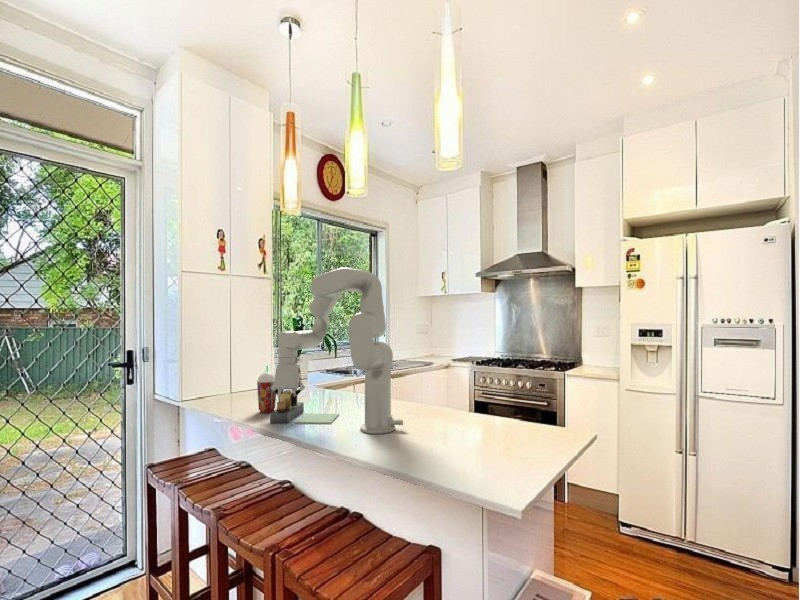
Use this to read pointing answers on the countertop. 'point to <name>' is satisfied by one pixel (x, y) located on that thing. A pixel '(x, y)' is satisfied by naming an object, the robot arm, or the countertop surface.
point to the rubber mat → (317, 419)
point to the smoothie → (266, 392)
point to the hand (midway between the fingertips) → (287, 405)
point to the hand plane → (286, 413)
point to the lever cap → (286, 398)
